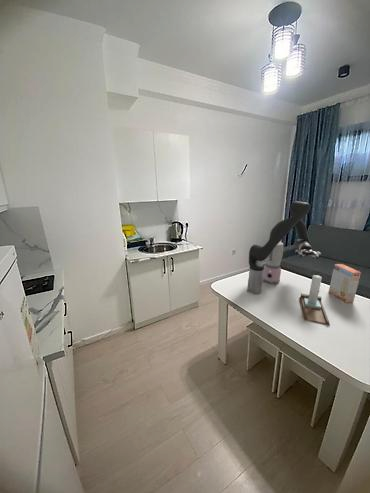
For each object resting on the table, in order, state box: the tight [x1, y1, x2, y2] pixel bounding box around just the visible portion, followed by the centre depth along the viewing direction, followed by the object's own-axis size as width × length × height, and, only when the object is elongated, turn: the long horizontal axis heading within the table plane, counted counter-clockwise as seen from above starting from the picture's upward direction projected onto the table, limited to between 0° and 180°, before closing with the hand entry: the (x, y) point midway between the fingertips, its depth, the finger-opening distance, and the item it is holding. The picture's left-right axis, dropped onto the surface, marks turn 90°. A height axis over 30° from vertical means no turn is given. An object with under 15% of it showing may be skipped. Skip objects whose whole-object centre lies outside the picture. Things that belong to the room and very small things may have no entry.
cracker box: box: [328, 263, 362, 304], centre depth 131 cm, size 14×6×21 cm, turn 4°
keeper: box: [304, 274, 323, 309], centre depth 122 cm, size 8×8×18 cm
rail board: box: [299, 293, 331, 326], centre depth 121 cm, size 12×24×4 cm, turn 157°
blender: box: [263, 241, 284, 285], centre depth 152 cm, size 16×12×32 cm
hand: (309, 256), depth 128 cm, fingers open, 8 cm apart
